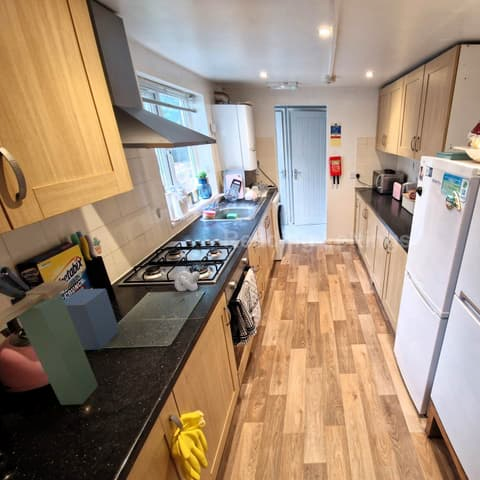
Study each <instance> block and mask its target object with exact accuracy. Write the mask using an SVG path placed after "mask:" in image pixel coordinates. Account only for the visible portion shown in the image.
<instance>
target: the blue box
mask: <svg viewBox="0 0 480 480" xmlns="http://www.w3.org/2000/svg"><path fill="white" fill-rule="evenodd" d="M63 300H64V303H65V305H66V307H67V310H68V312H69V315H70V317H71V320H72V322H73V325H74V327H75V330H76V332H77V335H78V337H79V340H80V342H81V345H82V347H83V349H84V351H94V350H95V351H96V350H98V351H100V350H102V349H104V347H105V346H107V344H108V343H109V342H110V341H111V340H112V339H114V337H115V336H116V335H117V334H118V333H119V331H120V328H119V324H118V322H117V318H116V315H115V313H114V309H113V306H112V303H111V300H110V298H109V294H108V290H107V289H106V288H80V289H78V290H77V291H75V292H74V293H72V294H71V295H69V296H68V297H66V298H65V299H63Z"/></svg>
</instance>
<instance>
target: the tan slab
mask: <svg viewBox="0 0 480 480" xmlns="http://www.w3.org/2000/svg"><path fill="white" fill-rule="evenodd" d="M68 288H70V285H69V284H68V280H46V281H44V282H42V283H40V284H39V285H36V286H35V287H34V288H32V289H30V290H29V291H26V293H25V294H26V296H25V298H24V299H23V300H21V301H19V302H17V303H16V304H14V305H12V304H11V305H10V306H9V307H7V308H5V309H3V310H1V311H0V328H1V327H2V326H4V325H6V324H7V323H9V322H10V321H12V320H13V319H15V318H18V317H17V316H18V315H20V314H21V313H23V312H25V311H26V310H28V309H29V308H31V307H33V306H34V305H36V304H37V303H39V302H41V301H42V300H47V299H51V298H52V297H54V296H55V295H57V294H61V293H62V292H64V291H65V290H67V289H68Z"/></svg>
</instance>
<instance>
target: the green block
mask: <svg viewBox="0 0 480 480" xmlns="http://www.w3.org/2000/svg"><path fill="white" fill-rule="evenodd" d="M64 300H65V299H64V297H63V295H62V293H59V294H57V295H55V296H54V297H52V298H51V299H47V300H42V301H41V302H39V303H37V304H36V305H34V306H33V307H31V308H29V309H28V310H26V311H25V312H23V313H21V314H20V315H18V316H17V317H16V318H17V319H18V321H19V323H20V326H21V327H22V329H23V331H24V334H25V335H26V338H27V339H28V341H29V343H30V345H31V347H32V349H33V351H34V353H35V355H36V357H37V360H38V361H39V363H40V365H41V368H42V369H43V371H44V373H45V376H46V377H47V380H48V382H49V384H50V386H51V387H52V390H53V392H54V394H55V396H56V398H57V400H58V402H59V404H60V405H61V406H65V405H66V406H67V405H68V406H69V405H83V404H85V402H86V401H87V400H88V399H89V398H90V396H91V395H92V394H93V392H94V391H96V389H97V388H98V387H99V384H98V381H97V378H96V376H95V374H94V372H93V369H92V367H91V364H90V362H89V359H88V357H87V355H86V353H85V350H84V349H83V347H82V345H81V342H80V340H79V337H78V335H77V332H76V330H75V327H74V325H73V322H72V320H71V317H70V315H69V312H68V310H67V307H66V305H65V303H64Z"/></svg>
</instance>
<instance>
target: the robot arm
mask: <svg viewBox="0 0 480 480" xmlns="http://www.w3.org/2000/svg"><path fill="white" fill-rule="evenodd" d="M30 290H31V289H30V287H29V285H27V284H26V283H25V282H24V281H22V279H20V278H19V277H18V276H16V275H15V274H14V273H13V272H12V270H11V268H10V266H2V265H1V264H0V294H1V295H4V296H6V297H9V298H11V299H10V300H9V301H10V304H11V306H12V305H14V304H16V303H17V302H19V301H21V300H23V299H24V298H26V297H27V296H26V294H25V293H26V292H28V291H30Z"/></svg>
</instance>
